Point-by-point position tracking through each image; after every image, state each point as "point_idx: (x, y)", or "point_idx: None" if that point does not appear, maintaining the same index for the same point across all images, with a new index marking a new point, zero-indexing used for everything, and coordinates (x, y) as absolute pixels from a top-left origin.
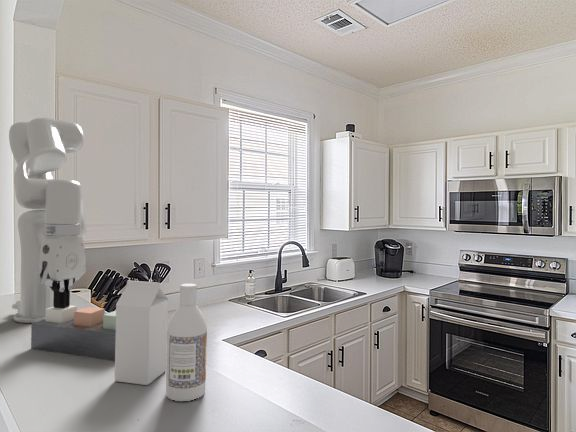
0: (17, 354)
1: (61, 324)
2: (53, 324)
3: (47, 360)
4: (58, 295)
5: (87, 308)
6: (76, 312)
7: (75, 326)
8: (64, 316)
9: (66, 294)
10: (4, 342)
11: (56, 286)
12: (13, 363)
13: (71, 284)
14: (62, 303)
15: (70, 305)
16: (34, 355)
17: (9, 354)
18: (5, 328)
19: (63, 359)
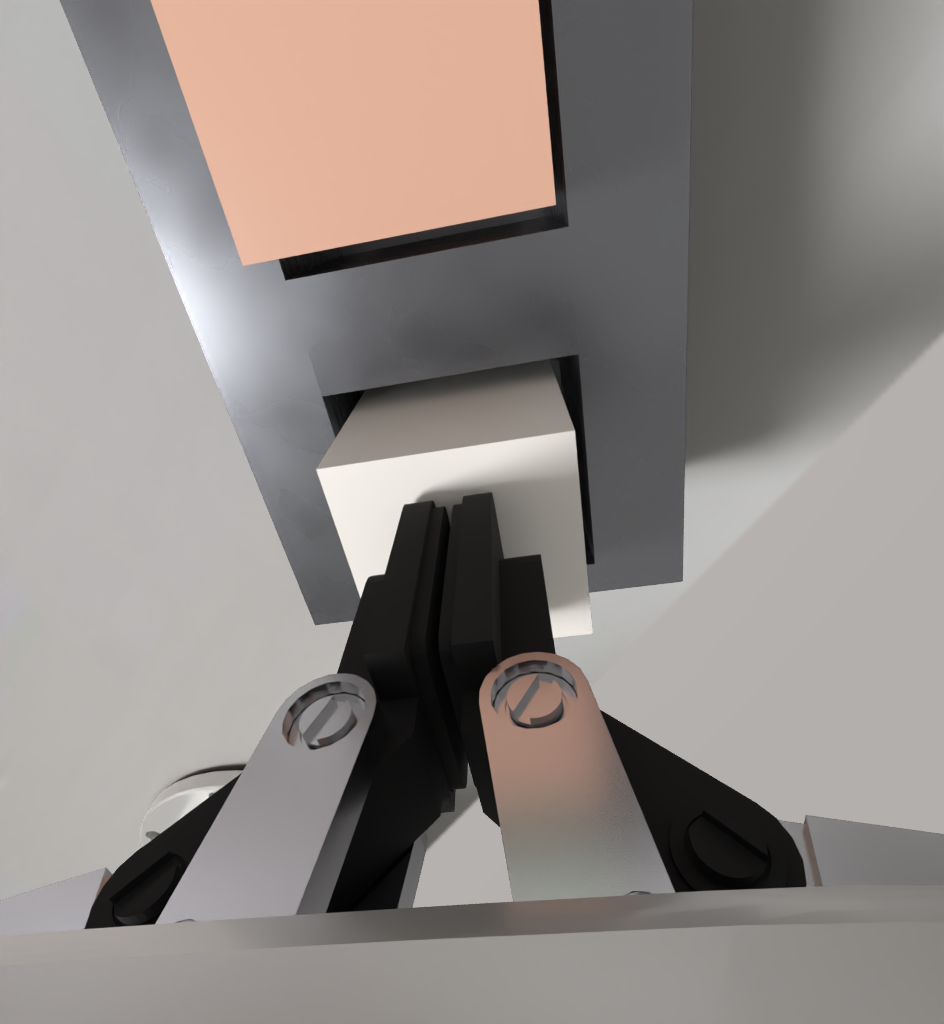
0: (732, 463)
1: (611, 317)
2: (644, 390)
3: (778, 162)
4: (554, 652)
5: (310, 179)
6: (548, 147)
7: (607, 70)
8: (522, 405)
9: (441, 610)
10: (602, 674)
11: (672, 795)
12: (880, 336)
13: (270, 774)
14: (496, 546)
15: (347, 550)
16: (716, 354)
17: (745, 501)
18: (456, 816)
19: (725, 47)
